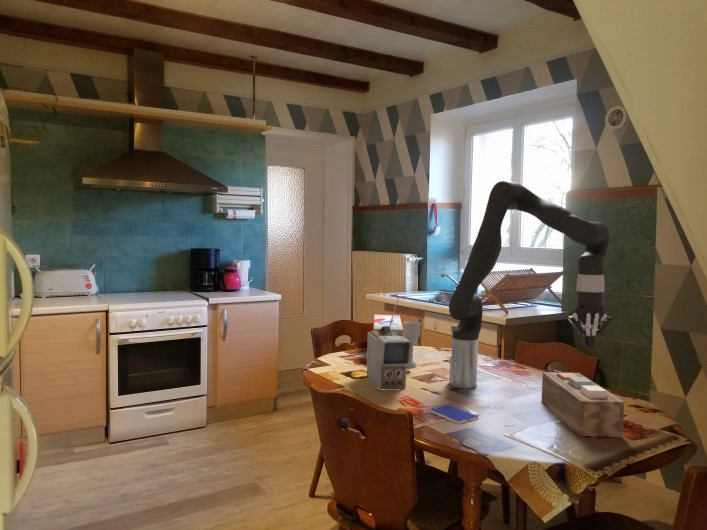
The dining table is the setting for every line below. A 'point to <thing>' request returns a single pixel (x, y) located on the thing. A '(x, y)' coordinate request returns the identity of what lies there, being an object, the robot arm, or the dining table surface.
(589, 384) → the slate key
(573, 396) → the keypad console
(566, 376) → the terracotta key
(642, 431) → the dining table surface
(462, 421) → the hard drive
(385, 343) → the portable television
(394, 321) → the soda pack
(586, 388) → the ivory key
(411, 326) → the chalice
